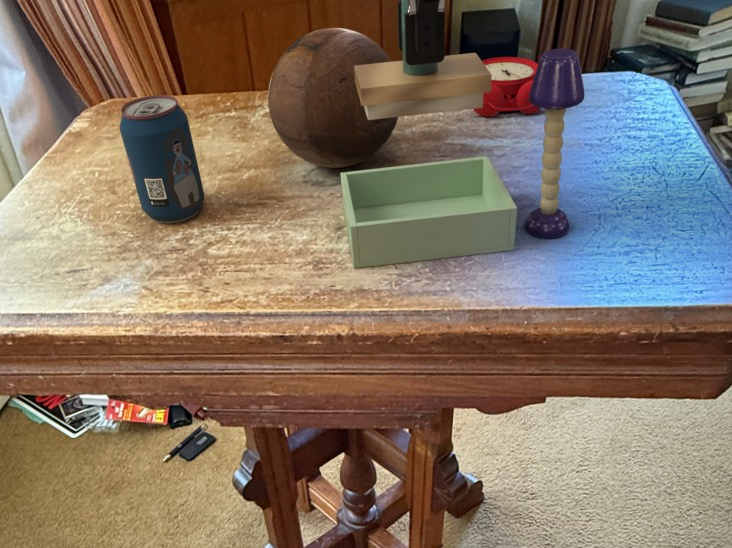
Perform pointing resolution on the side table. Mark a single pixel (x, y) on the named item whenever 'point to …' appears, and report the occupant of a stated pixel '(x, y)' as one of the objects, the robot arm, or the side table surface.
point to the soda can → (162, 158)
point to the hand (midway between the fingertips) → (420, 53)
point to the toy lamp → (553, 134)
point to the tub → (427, 212)
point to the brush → (421, 84)
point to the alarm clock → (509, 86)
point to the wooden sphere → (326, 99)
